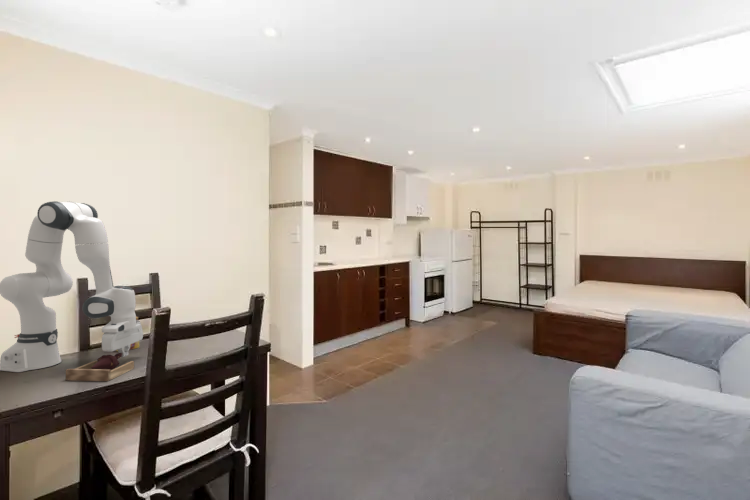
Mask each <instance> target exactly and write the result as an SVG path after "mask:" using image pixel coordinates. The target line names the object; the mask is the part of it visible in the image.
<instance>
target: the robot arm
mask: <svg viewBox="0 0 750 500" xmlns="http://www.w3.org/2000/svg"><path fill="white" fill-rule="evenodd" d="M67 230H69V231H71V233H72V234H73V237H74V248H75V249H74V250H75V253H76V256H77V259H78V261H79V262H80V263H81V264H82V265H84V266H86V267H87V268H88V269H90V271H91V273H92V275H93V281H94V285H95V295H92V296H90V297H88V298H87V299H86V300H84V302H83V304H82V312H83V314H84V315H85V316H86V317H88V318H90V319H101V318H105V317H110V321H109V322H107V323H106V324H105V325H104V326H102V327H101V333H103V334H102V336H101V349H102V351H103V352H104V353H106V352H107V353H112V352H114V351H115V352H116V350H118V351H117V352H118V353H122V356H121V357H120V358H125V357H127V356H129V351H130V350H129V349H130V344H132V343H135V342H137V341H139V342H140V341H142V340H143V337H144V331H143V326H142V324H141V323H142V322H141V321H140V319H138V320H136V316H137V315H136V311H135V310H136V306H137V305H136V303H137V301H136V292H135V290H134V289H133V287H130V286H127V285H114V281H113V276H112V275H113V274H112V271H111V264H110V248H109V247H110V246H109V239H108V235H107V229H106V227H105V225H104V222H103V221H102V219H100V218H99V214H98V211H97V209H95V207H94V206H92V205H91V204H88V203H85V202H76V201H55V200H54V201H48V202H44V203H42V204H41V205H40V206H39V208H38V209H37V214H36V215H35V217H34V218H33V220H32V222H31V224H30V228H29V229H28V236H27V242H26V246H25V253H24V255H25V258H26V259H27V260H28V261H29V262H30V263H32V264H35V267H36V270H35V272H25V273H17V274H12V275H9V276H5V277H4V278H2V280H1V281H0V296H1V297H2V298H3V299H4V300H7V301H8V302H10V303H11V304H13V306H14V307H15V308H16V309H17V311H18V314H19V319H20V333H19V334H14V339H16V338H17V339H16V342H15V343H14V344H12V345H11V346H10V347H8V348H7V349H5V350H4V351H2V353H1V355H0V371H4V372H13V373H22V372H26V371H31V370H32V371H33V370H38V369H45V368H48V367H49V368H50V367H52V366H55V365H57V364H60V363H62V358H61V355H60V350H59V346H58V337H59V332H58V329H57V313H56V311H55V309H53V308H51V307H49V306H46V305H45V303H44V298H51V297H56V296H61V295H63V294H66V293H68V292H69V291H70V290H71V289H72V287H73V283H74V282H73V278H72V276H71V274H69V273H68V272H67V271H66V270H65V269H64V267H63V264H62V261H61V260H62V259H61V257H62V250H63V249H62V247H63V242H64V236H65V234H64V233H65V232H66V231H67ZM123 349H124V350H123Z"/></svg>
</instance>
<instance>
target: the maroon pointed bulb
mask: <svg viewBox="0 0 750 500" xmlns="http://www.w3.org/2000/svg"><path fill="white" fill-rule="evenodd" d="M121 356H122V353H119V352H118V353H115V354H114V355H111V354H104V355H102V356H100V357H98V358H97V359H96V360H97V361H98V362H97V363H96V364H95V365H94V366H93V367H91V369H111V370H113V369H115V368H117V367H119V365H120V362H119V359H120V358H122V357H121Z"/></svg>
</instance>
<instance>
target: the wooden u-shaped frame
mask: <svg viewBox="0 0 750 500" xmlns="http://www.w3.org/2000/svg"><path fill="white" fill-rule="evenodd" d="M97 362H98V361H97V359H95V360H93V361H90V362H88V363H86V364H83V365H81V366H77V367H75V368H67V369H65V381H75V382H76V381H77V382H78V381H79V382H80V381H82V382H87V381H88V382H109V381H110V382H111V380H114V379H115V378H118V377H120V376H122V375H123V374H126V373H127V372H130V371H132V370H134V369H135V361H134V360H131V361H128V362H125V363H124V364H122V365H120V366H119V365H118V366H117V367H115V368H114V369H112V370H111V369H91V367H93V366H94V365H95V364H96V363H97Z"/></svg>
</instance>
